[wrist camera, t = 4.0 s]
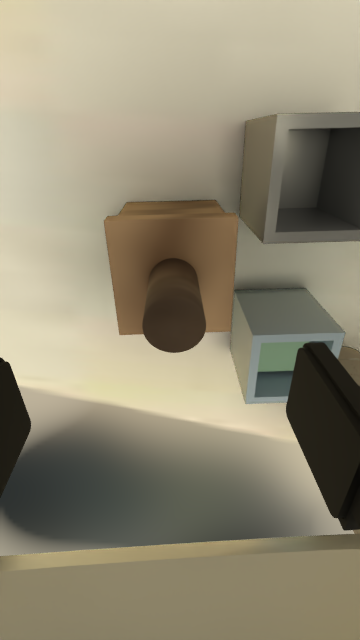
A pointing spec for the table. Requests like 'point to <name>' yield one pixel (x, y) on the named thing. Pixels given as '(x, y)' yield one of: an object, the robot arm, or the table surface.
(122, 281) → the lid
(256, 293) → the square blue-grey bin
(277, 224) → the grey open storage bin
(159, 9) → the table surface
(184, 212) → the oak box
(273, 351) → the green cube
